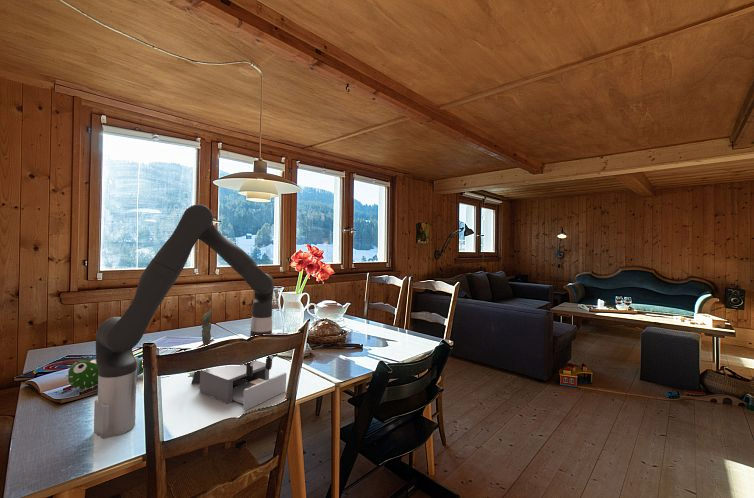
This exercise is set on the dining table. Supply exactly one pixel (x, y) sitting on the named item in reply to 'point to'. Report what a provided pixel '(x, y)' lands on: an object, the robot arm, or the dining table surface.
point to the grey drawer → (259, 391)
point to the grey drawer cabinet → (228, 379)
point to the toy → (90, 373)
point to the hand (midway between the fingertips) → (259, 372)
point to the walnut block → (256, 382)
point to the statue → (204, 340)
